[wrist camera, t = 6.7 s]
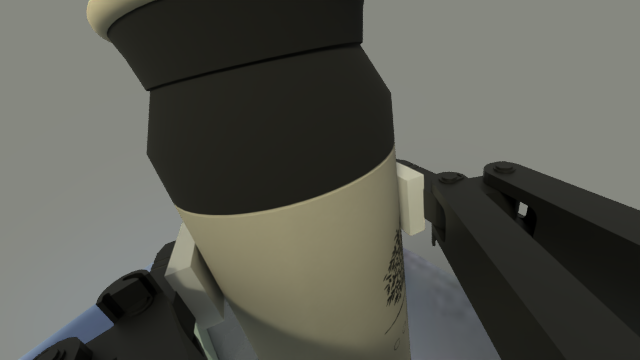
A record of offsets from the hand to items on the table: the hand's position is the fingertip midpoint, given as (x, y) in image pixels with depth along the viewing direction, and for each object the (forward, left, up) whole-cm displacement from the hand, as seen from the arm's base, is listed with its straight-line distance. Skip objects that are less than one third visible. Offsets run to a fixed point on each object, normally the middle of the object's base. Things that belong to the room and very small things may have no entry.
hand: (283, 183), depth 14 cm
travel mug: (+2, -4, -10) cm, 11 cm away
